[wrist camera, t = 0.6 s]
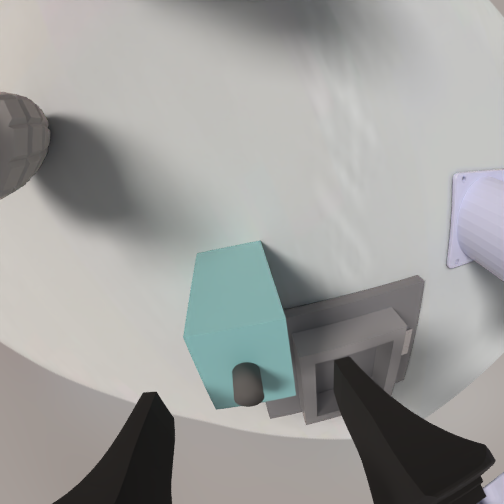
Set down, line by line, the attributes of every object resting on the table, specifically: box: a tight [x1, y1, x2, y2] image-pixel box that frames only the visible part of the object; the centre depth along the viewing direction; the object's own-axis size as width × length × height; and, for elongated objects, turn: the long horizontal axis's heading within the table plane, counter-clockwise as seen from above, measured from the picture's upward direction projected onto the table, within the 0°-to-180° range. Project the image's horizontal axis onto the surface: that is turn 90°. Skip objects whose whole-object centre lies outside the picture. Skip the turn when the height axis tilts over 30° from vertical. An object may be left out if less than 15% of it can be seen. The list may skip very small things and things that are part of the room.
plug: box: [183, 241, 296, 409], centre depth 15 cm, size 4×5×10 cm
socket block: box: [266, 275, 424, 425], centre depth 21 cm, size 14×12×4 cm
